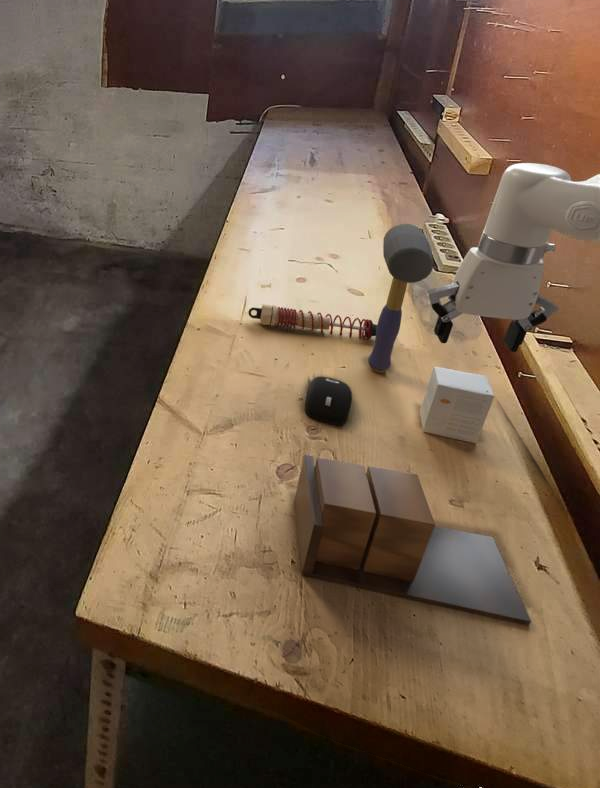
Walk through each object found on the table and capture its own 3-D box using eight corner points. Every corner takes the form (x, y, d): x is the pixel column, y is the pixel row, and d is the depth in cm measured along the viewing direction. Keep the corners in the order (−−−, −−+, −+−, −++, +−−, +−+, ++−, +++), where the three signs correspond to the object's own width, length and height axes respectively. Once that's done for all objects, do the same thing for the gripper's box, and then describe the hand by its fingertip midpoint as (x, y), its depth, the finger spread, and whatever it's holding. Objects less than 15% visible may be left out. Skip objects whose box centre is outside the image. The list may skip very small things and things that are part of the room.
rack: (490, 540, 79) (518, 480, 74) (529, 625, 68) (564, 563, 63) (293, 502, 86) (306, 445, 80) (301, 575, 75) (316, 514, 70)
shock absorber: (392, 320, 123) (249, 300, 131) (398, 324, 118) (249, 303, 127) (389, 341, 123) (246, 320, 132) (395, 346, 119) (247, 323, 127)
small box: (470, 423, 99) (488, 375, 94) (476, 445, 94) (496, 396, 90) (418, 411, 102) (433, 364, 97) (421, 432, 98) (437, 384, 93)
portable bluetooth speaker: (352, 390, 108) (356, 373, 106) (346, 430, 99) (351, 412, 97) (310, 378, 111) (314, 362, 109) (301, 416, 102) (304, 399, 100)
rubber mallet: (401, 392, 107) (441, 250, 94) (357, 383, 110) (390, 244, 96) (396, 355, 117) (431, 223, 104) (356, 348, 120) (385, 218, 107)
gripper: (566, 242, 84) (527, 336, 92) (436, 232, 88) (408, 323, 96) (594, 265, 77) (548, 364, 85) (451, 253, 82) (420, 348, 90)
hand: (474, 342), depth 91 cm, fingers open, 9 cm apart
